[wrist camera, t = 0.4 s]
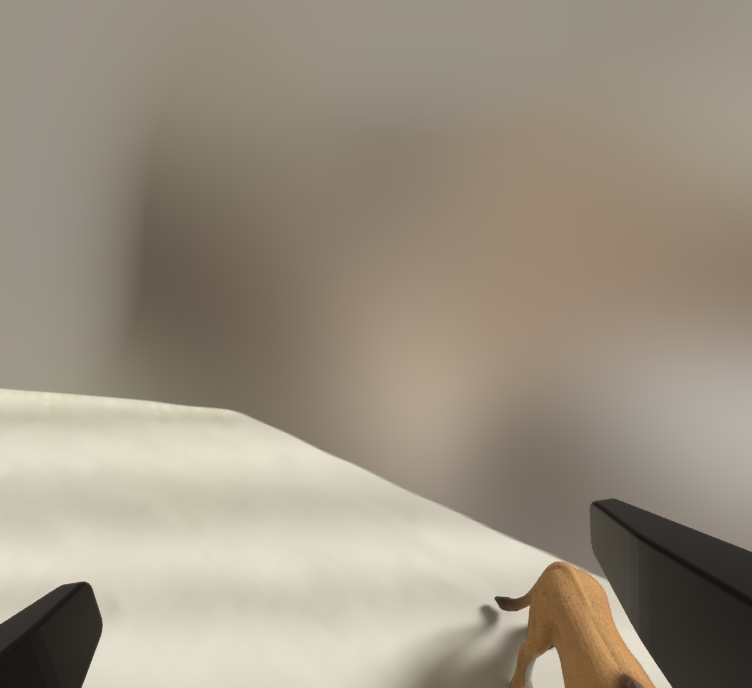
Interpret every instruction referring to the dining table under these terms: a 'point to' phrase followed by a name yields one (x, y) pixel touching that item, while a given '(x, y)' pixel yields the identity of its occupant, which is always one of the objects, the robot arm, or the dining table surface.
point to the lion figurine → (574, 632)
